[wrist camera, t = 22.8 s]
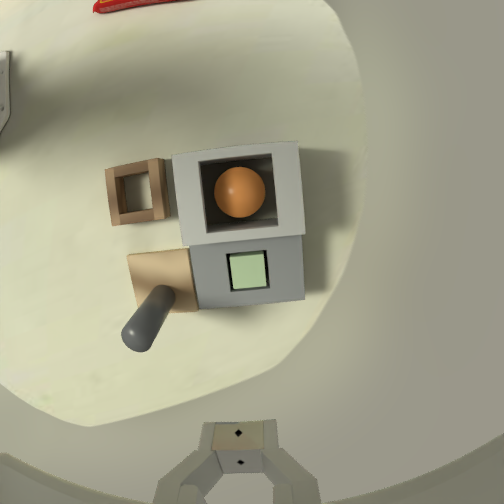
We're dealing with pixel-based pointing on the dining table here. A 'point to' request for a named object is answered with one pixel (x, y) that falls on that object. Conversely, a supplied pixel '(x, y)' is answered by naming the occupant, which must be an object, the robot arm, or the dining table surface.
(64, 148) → the dining table surface
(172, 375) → the dining table surface
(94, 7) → the candy bar
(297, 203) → the grey boxy piece
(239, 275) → the on button
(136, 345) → the grey rounded rod
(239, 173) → the plunger
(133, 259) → the pad
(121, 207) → the stand
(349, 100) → the dining table surface
